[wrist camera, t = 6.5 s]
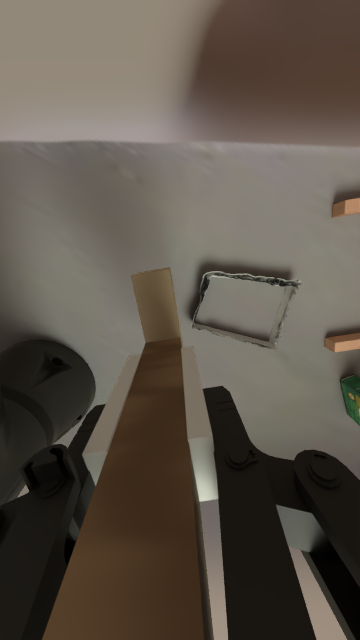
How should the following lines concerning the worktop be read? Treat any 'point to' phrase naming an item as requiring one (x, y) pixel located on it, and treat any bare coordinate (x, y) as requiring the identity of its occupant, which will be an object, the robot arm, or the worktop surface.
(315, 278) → the worktop surface
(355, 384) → the coffee box
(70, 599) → the wooden scraper
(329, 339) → the tile bay
